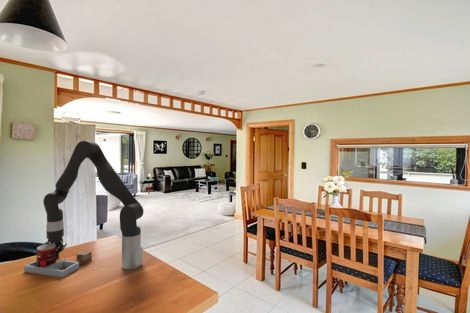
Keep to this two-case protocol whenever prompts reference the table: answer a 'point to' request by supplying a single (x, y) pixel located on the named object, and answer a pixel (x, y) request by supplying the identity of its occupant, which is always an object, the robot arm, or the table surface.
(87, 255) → the walnut cube
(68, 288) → the table surface
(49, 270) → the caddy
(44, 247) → the canned food
